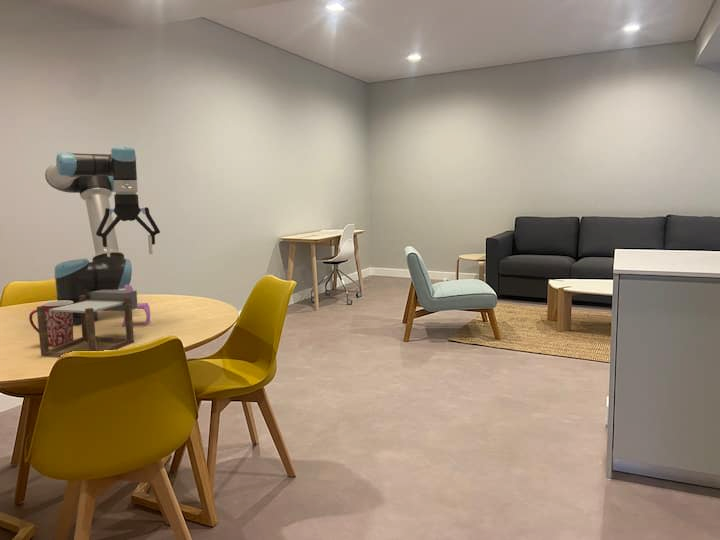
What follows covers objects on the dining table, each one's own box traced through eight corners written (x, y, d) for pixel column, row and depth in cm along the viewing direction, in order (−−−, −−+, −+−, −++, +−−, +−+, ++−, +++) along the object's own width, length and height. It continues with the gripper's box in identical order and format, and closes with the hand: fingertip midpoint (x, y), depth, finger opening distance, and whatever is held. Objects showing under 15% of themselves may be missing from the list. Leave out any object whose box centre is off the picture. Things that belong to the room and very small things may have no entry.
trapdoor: (49, 320, 163) (48, 300, 162) (102, 306, 186) (101, 289, 185) (90, 322, 160) (88, 302, 159) (138, 308, 183) (137, 290, 182)
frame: (40, 355, 163) (36, 307, 161) (85, 339, 181) (82, 295, 179) (94, 359, 159) (90, 309, 157) (134, 341, 178) (131, 296, 175)
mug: (76, 338, 183) (73, 299, 181) (76, 345, 174) (72, 303, 173) (33, 343, 177) (29, 302, 175) (30, 350, 169) (26, 308, 167)
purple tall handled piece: (146, 326, 198) (143, 286, 196) (121, 327, 197) (118, 286, 195) (151, 321, 206) (149, 282, 204) (127, 322, 205) (124, 283, 203)
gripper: (85, 193, 176) (90, 258, 179) (166, 193, 188) (169, 254, 191) (84, 193, 182) (89, 256, 185) (162, 193, 194) (165, 251, 197)
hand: (130, 255), depth 188 cm, fingers open, 13 cm apart
